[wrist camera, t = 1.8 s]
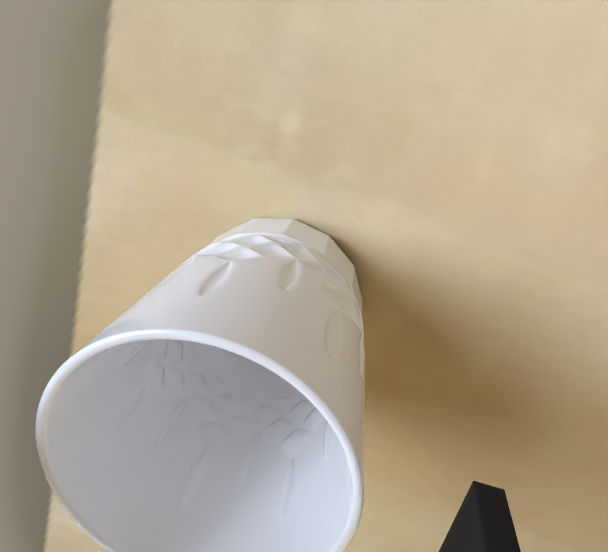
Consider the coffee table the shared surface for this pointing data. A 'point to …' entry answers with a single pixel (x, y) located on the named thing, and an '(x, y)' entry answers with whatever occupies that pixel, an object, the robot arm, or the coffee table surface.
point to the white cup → (219, 404)
